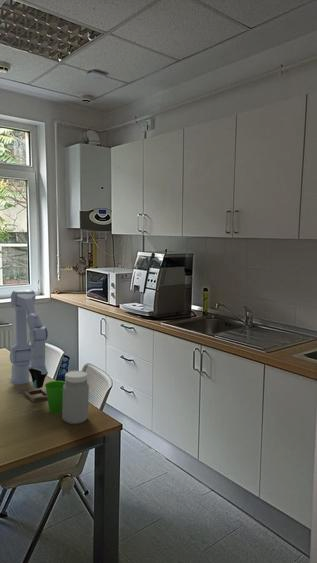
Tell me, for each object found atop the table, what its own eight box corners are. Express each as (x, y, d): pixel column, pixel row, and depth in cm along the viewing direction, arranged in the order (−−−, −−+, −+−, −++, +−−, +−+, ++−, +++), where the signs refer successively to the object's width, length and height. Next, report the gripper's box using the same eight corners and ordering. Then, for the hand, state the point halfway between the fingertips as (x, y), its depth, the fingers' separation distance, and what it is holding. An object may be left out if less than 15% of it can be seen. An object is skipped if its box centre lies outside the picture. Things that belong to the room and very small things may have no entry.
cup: (70, 407, 169) (71, 381, 168) (63, 416, 160) (63, 389, 159) (49, 405, 170) (49, 379, 169) (40, 414, 161) (41, 387, 160)
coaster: (17, 391, 183) (17, 391, 183) (28, 389, 186) (28, 388, 186) (21, 395, 179) (21, 394, 179) (32, 393, 182) (32, 392, 182)
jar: (60, 415, 161) (61, 370, 159) (85, 413, 164) (86, 369, 162) (64, 426, 152) (65, 379, 150) (90, 423, 155) (91, 377, 153)
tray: (24, 395, 179) (24, 391, 179) (42, 392, 184) (42, 388, 184) (32, 403, 171) (32, 399, 171) (51, 399, 176) (51, 395, 176)
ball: (31, 387, 178) (31, 378, 177) (40, 385, 180) (40, 377, 179) (34, 390, 174) (35, 381, 174) (43, 389, 177) (44, 380, 176)
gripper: (23, 352, 179) (22, 382, 180) (35, 360, 168) (35, 393, 169) (38, 350, 183) (38, 379, 185) (51, 358, 172) (51, 389, 173)
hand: (37, 386), depth 177 cm, fingers closed on ball, 4 cm apart
